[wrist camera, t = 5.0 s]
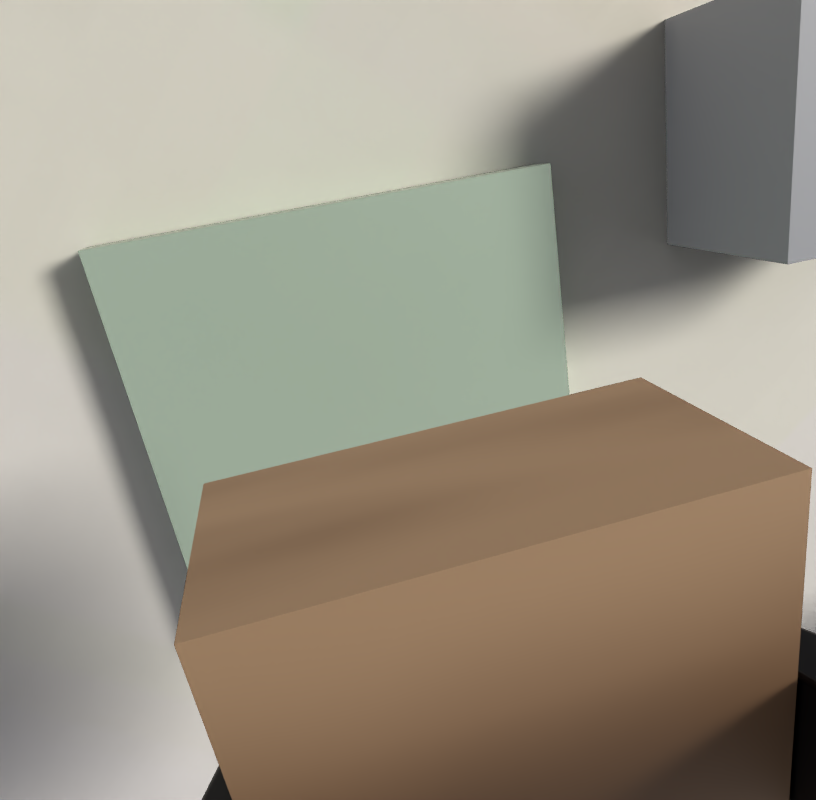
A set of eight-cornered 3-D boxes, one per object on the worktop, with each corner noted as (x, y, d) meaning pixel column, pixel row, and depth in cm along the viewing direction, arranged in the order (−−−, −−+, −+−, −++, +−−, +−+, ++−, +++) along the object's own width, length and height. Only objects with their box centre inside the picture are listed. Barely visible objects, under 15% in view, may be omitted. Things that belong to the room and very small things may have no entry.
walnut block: (653, 745, 11) (780, 927, 9) (322, 856, 11) (343, 1098, 8) (640, 377, 9) (811, 469, 6) (203, 483, 8) (174, 644, 5)
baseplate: (568, 531, 22) (581, 547, 21) (216, 626, 20) (214, 647, 20) (535, 163, 18) (550, 163, 17) (88, 247, 16) (77, 251, 15)
